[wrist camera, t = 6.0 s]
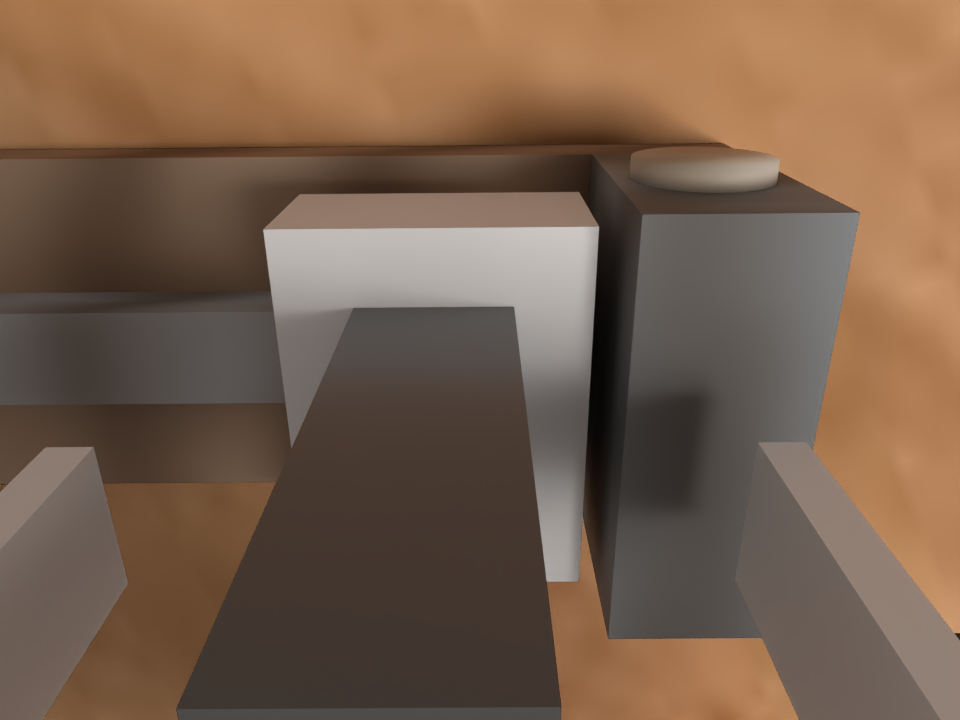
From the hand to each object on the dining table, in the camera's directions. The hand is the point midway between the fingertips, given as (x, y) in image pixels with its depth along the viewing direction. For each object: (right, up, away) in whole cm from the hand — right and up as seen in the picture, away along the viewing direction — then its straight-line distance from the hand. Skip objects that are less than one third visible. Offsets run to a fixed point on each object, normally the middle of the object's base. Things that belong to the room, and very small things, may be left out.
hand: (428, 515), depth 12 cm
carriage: (0, +3, +7) cm, 7 cm away
